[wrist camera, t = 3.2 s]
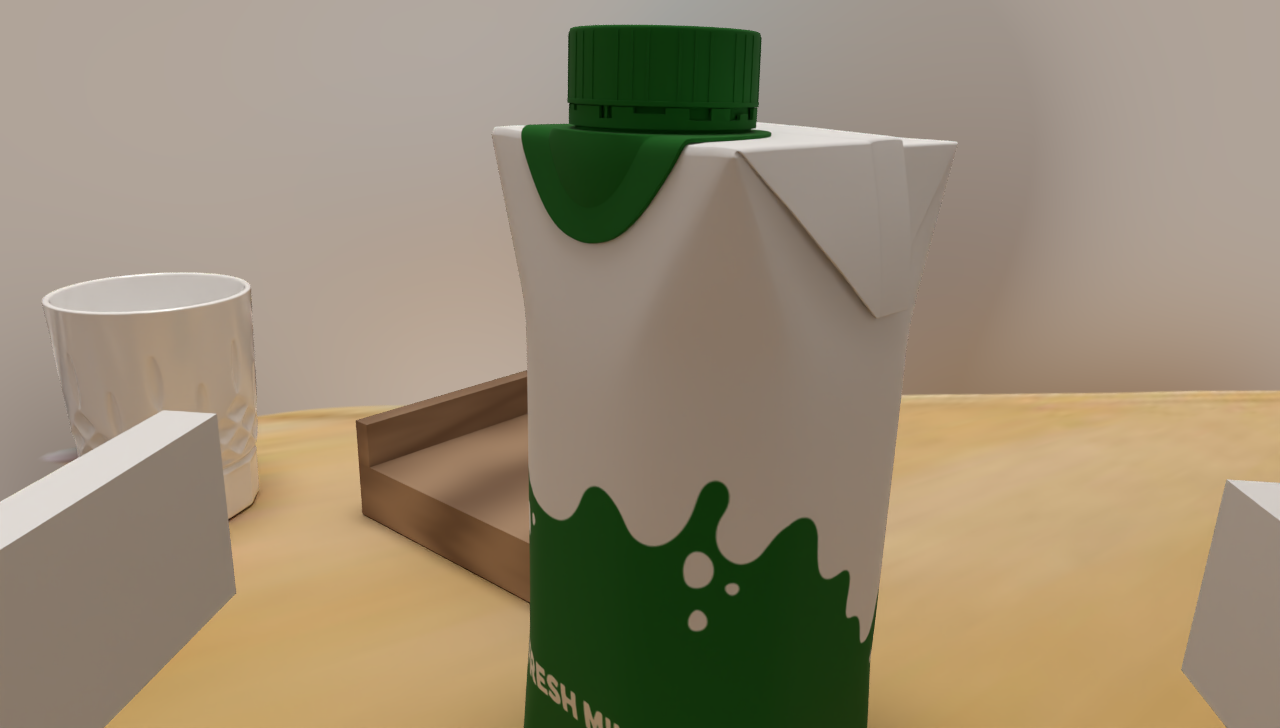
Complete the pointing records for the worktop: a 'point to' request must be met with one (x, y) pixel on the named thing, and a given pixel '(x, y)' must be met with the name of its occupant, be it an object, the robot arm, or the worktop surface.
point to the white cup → (160, 361)
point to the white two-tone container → (708, 386)
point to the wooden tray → (456, 477)
